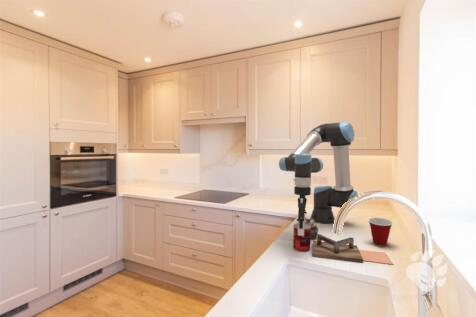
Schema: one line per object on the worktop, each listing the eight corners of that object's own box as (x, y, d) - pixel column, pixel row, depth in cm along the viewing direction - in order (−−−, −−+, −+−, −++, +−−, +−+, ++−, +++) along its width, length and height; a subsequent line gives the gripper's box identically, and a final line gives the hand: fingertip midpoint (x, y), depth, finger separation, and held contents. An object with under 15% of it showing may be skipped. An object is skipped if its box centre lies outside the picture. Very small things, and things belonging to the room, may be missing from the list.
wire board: (312, 243, 122) (312, 231, 122) (356, 248, 116) (356, 236, 116) (312, 256, 106) (312, 243, 106) (363, 263, 100) (363, 248, 100)
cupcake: (300, 239, 127) (300, 220, 127) (299, 233, 136) (299, 216, 136) (319, 241, 125) (320, 221, 125) (316, 234, 135) (317, 217, 135)
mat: (358, 250, 114) (358, 249, 114) (385, 253, 110) (385, 252, 110) (363, 261, 102) (363, 260, 102) (393, 265, 99) (393, 264, 99)
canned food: (297, 244, 121) (297, 222, 121) (313, 248, 116) (313, 225, 116) (290, 248, 115) (290, 225, 115) (306, 253, 110) (306, 229, 110)
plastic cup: (366, 245, 120) (366, 221, 120) (368, 238, 129) (369, 216, 129) (392, 250, 114) (392, 224, 114) (392, 243, 123) (393, 219, 123)
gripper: (296, 183, 128) (295, 223, 128) (292, 189, 104) (291, 238, 104) (311, 183, 126) (310, 224, 126) (310, 190, 102) (309, 240, 102)
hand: (301, 231), depth 115 cm, fingers open, 13 cm apart
